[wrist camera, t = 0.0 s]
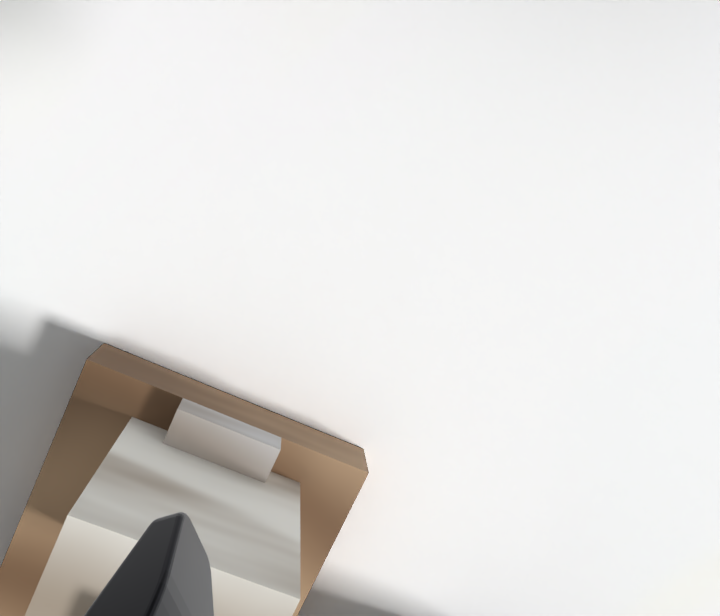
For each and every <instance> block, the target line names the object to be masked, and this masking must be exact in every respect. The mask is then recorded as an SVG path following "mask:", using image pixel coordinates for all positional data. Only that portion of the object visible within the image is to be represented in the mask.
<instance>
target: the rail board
mask: <svg viewBox="0 0 720 616" xmlns="http://www.w3.org/2000/svg"><path fill="white" fill-rule="evenodd" d="M368 473H369V472H368V468H367V463H366V459H365V454H364V449H362V448H360V447H357V446H355V445H352V444H350V443H347V442H345V441H342V440H340V439H338V438H335V437H333V436H330V435H328V434H325V433H323V432H320V431H318V430H316V429H313V428H311V427H308V426H306V425H303V424H301V423H298V422H296V421H294V420H291V419H289V418H286V417H284V416H281V415H279V414H276V413H274V412H272V411H269V410H267V409H264V408H262V407H259V406H257V405H254V404H252V403H250V402H247V401H245V400H242V399H240V398H237V397H235V396H232V395H230V394H228V393H225V392H223V391H220V390H218V389H215V388H213V387H210V386H208V385H205V384H203V383H201V382H198V381H196V380H193V379H191V378H188V377H186V376H183V375H181V374H179V373H176V372H174V371H171V370H169V369H166V368H164V367H161V366H159V365H157V364H154V363H152V362H149V361H147V360H144V359H142V358H139V357H137V356H135V355H132V354H130V353H127V352H125V351H122V350H120V349H117V348H115V347H113V346H110V345H108V344H105V343H104V344H103V345H101V346H100V347H99V348H98V349H97V350H96V351H95V352H94V353H93V354H92V355H91V356H90V357H89V358H87V360H86V362H85V365H84V367H83V369H82V372H81V374H80V377H79V379H78V381H77V384H76V386H75V389H74V391H73V394H72V396H71V398H70V401H69V403H68V406H67V408H66V410H65V413H64V415H63V418H62V420H61V422H60V425H59V427H58V430H57V432H56V435H55V437H54V439H53V442H52V444H51V447H50V449H49V451H48V454H47V456H46V459H45V461H44V464H43V466H42V468H41V471H40V473H39V476H38V478H37V480H36V483H35V485H34V488H33V490H32V492H31V495H30V497H29V500H28V502H27V505H26V507H25V509H24V512H23V514H22V517H21V519H20V521H19V524H18V526H17V529H16V531H15V533H14V536H13V538H12V541H11V543H10V546H9V548H8V550H7V553H6V555H5V558H4V560H3V562H2V565H1V567H0V616H84V615H85V613H86V612H87V611H88V609H89V608H90V606H91V605H92V604H93V602H94V601H95V600H96V598H97V597H98V595H99V594H100V593H101V591H102V590H103V589H104V587H105V586H106V584H107V583H108V582H109V580H110V579H111V577H112V576H113V575H114V573H115V572H116V571H117V569H118V568H119V566H120V565H121V564H122V562H123V561H124V560H125V558H126V557H127V555H128V554H129V553H130V551H131V550H132V549H133V547H134V546H135V544H136V543H137V542H138V540H139V539H140V537H141V536H142V535H143V533H144V532H145V531H146V529H147V528H148V526H149V525H150V524H151V523H152V522H153V521H154V520H155V519H158V518H161V517H164V516H168V515H171V514H175V513H178V512H183V513H186V514H187V515H188V517H189V518H190V520H191V522H192V524H193V526H194V528H195V530H196V532H197V534H198V537H199V539H200V541H201V543H202V545H203V547H204V549H205V551H206V554H207V556H208V559H209V563H210V568H211V578H212V593H213V607H214V616H297V615H298V613H299V611H300V609H301V607H302V605H303V603H304V601H305V599H306V597H307V595H308V593H309V591H310V589H311V587H312V585H313V583H314V581H315V579H316V577H317V575H318V573H319V571H320V569H321V567H322V565H323V563H324V561H325V559H326V557H327V555H328V553H329V551H330V549H331V547H332V545H333V543H334V541H335V539H336V537H337V535H338V533H339V531H340V529H341V527H342V525H343V523H344V521H345V519H346V517H347V515H348V513H349V511H350V509H351V507H352V505H353V503H354V501H355V499H356V497H357V495H358V493H359V491H360V489H361V487H362V485H363V483H364V481H365V479H366V477H367V475H368Z"/></svg>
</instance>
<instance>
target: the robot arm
mask: <svg viewBox="0 0 720 616" xmlns="http://www.w3.org/2000/svg"><path fill="white" fill-rule="evenodd" d="M84 616H214V607H213V593H212V578H211V568H210V563H209V559H208V556H207V554H206V551H205V549H204V547H203V545H202V543H201V541H200V539H199V537H198V534H197V532H196V530H195V528H194V526H193V524H192V522H191V520H190V518H189V517H188V515H187V514H186V513H183V512H178V513H175V514H171V515H168V516H164V517H161V518H158V519H155V520H154V521H153V522H152V523H151V524H150V525H149V526H148V528H147V529H146V531H145V532H144V533H143V535H142V536H141V537H140V539H139V540H138V542H137V543H136V544H135V546H134V547H133V549H132V550H131V551H130V553H129V554H128V555H127V557H126V558H125V560H124V561H123V562H122V564H121V565H120V566H119V568H118V569H117V571H116V572H115V573H114V575H113V576H112V577H111V579H110V580H109V582H108V583H107V584H106V586H105V587H104V589H103V590H102V591H101V593H100V594H99V595H98V597H97V598H96V600H95V601H94V602H93V604H92V605H91V606H90V608H89V609H88V611H87V612H86V613H85V615H84Z"/></svg>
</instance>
